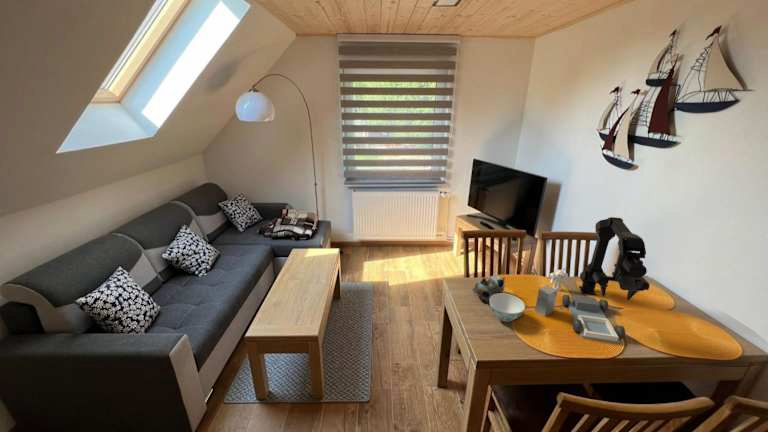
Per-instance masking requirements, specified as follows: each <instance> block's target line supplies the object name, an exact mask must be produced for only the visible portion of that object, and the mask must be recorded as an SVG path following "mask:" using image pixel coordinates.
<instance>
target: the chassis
mask: <svg viewBox="0 0 768 432" xmlns="http://www.w3.org/2000/svg"><path fill="white" fill-rule="evenodd" d="M561 301H562V303H561V304H562V305H563V306H567V307H568V309H569V311H570V314H571V316H572V319H573V320H572V329H573V331H574V332H578V333H579V335H580V337H581V338H582V339H589V340H594V341H595V340H596V341H600V342H606V343H614V344H621V341H620V339H624V338H625V337H626V328H625V327H624V326H623V325H618V324H615V326H614V327H613V325H612V323H611V322H610V320H609V318H607V316H606V315H605V314H604V313H605V312H607V311H608V309H609V301H608V300H607V299H599V301H598V299H597V298H596V297H591V296H585V295H576V294H574V295H573V299H571V297H570V295H569V294H563V295H562V299H561Z"/></svg>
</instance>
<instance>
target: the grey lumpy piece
mask: <svg viewBox="0 0 768 432" xmlns="http://www.w3.org/2000/svg"><path fill="white" fill-rule="evenodd" d="M505 287H506V284H505V277H501V276H499V275H491V276H490V277H489V278H488V279H487V278H486V277H482V279H481V280H480V281H478V282H476V283H475V284H474V288H472V291H473V292H474V293H475V294H477V295H478V296H479V297H480V298H481V299H482V300H484V301H486V302H489V303H490V297H491V296H492V295H494V294H498V293H504V291H505Z"/></svg>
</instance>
